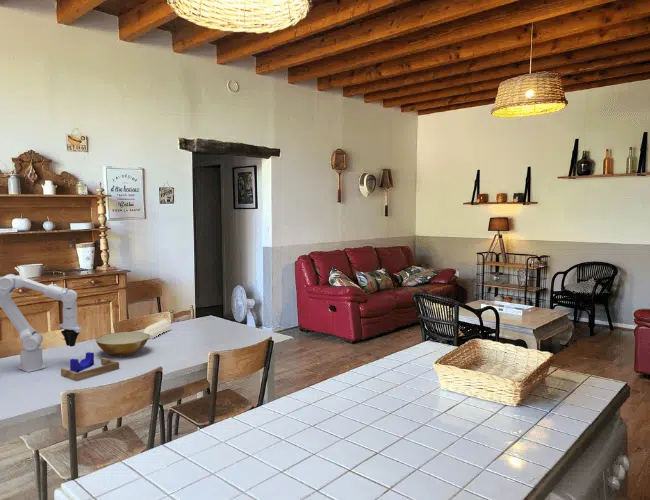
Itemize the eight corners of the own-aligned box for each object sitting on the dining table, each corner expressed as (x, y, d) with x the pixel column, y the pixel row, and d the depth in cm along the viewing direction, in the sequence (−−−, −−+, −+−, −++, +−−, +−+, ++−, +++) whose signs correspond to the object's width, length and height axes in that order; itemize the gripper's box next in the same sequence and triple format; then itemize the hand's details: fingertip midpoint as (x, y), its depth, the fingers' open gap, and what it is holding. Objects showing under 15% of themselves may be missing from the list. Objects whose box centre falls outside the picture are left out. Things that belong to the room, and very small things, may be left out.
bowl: (160, 350, 252) (160, 335, 251) (121, 363, 229) (121, 347, 228) (124, 343, 262) (124, 329, 261) (84, 356, 239) (83, 340, 239)
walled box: (61, 375, 211) (60, 368, 211) (103, 363, 228) (103, 357, 227) (76, 381, 204) (76, 374, 204) (119, 368, 221) (119, 362, 221)
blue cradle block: (85, 364, 227) (85, 351, 226) (94, 365, 226) (93, 352, 226) (67, 372, 215) (66, 359, 215) (76, 373, 214) (75, 360, 214)
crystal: (155, 333, 270) (175, 323, 294) (144, 326, 271) (165, 317, 295) (149, 344, 271) (169, 333, 295) (138, 337, 272) (159, 327, 296)
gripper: (87, 317, 222) (88, 346, 223) (69, 313, 230) (70, 341, 231) (72, 319, 216) (73, 349, 217) (54, 315, 224) (55, 344, 225)
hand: (70, 345), depth 224 cm, fingers closed
